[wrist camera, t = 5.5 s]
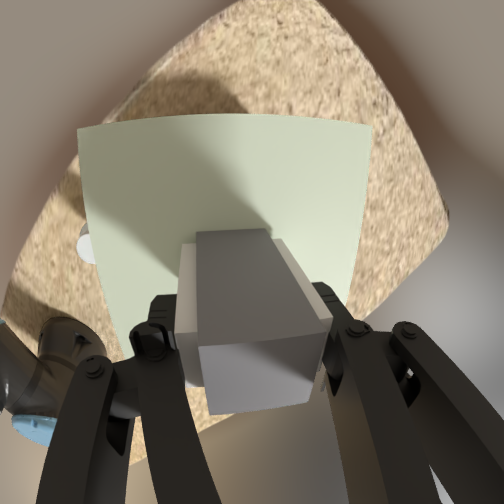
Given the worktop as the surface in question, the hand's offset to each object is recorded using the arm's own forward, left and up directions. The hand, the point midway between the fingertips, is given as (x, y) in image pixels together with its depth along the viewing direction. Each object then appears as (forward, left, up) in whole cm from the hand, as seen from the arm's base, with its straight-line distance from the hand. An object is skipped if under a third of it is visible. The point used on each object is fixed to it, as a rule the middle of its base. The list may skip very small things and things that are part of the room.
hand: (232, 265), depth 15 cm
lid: (0, 0, -2) cm, 2 cm away
